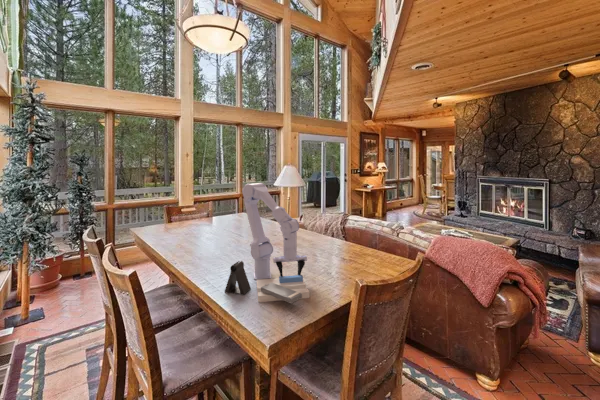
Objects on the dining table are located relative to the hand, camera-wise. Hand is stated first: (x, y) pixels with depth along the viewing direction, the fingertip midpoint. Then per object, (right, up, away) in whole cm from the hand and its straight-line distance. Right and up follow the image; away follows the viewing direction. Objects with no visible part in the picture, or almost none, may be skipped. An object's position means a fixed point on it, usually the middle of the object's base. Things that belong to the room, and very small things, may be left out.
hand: (290, 277), depth 127 cm
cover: (-3, -2, -16) cm, 16 cm away
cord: (0, -1, -2) cm, 3 cm away
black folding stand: (-22, -4, -6) cm, 23 cm away
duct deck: (-3, -4, -6) cm, 8 cm away
